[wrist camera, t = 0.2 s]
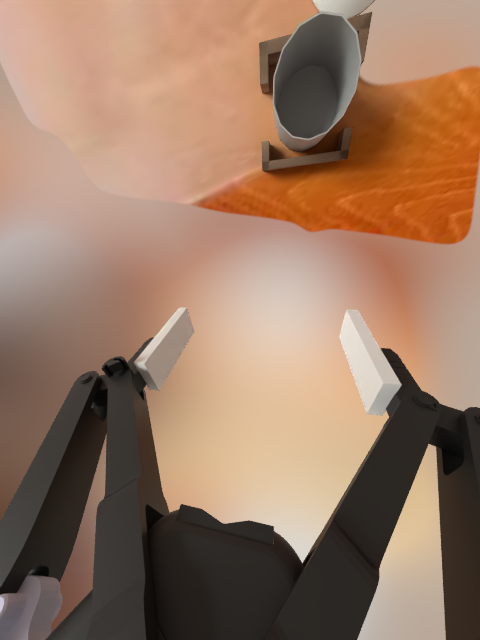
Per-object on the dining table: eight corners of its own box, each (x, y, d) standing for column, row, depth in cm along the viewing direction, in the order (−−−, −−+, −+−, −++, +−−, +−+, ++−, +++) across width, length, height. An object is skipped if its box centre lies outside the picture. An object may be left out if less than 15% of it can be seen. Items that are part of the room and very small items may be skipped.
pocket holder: (261, 56, 25) (259, 42, 23) (362, 30, 23) (372, 11, 20) (264, 171, 32) (262, 170, 29) (341, 160, 29) (347, 158, 27)
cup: (336, 51, 24) (363, -15, 16) (337, 137, 28) (359, 119, 20) (269, 86, 26) (264, 45, 18) (280, 160, 31) (279, 152, 23)
